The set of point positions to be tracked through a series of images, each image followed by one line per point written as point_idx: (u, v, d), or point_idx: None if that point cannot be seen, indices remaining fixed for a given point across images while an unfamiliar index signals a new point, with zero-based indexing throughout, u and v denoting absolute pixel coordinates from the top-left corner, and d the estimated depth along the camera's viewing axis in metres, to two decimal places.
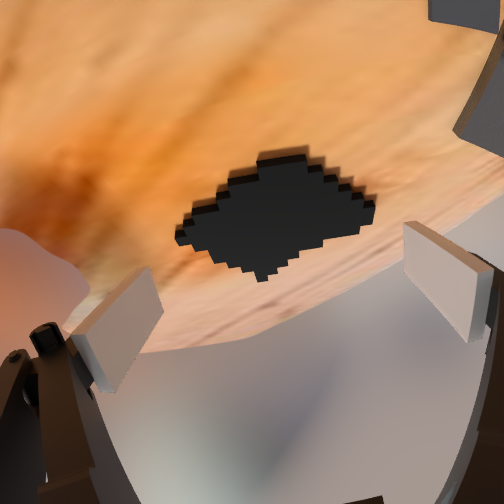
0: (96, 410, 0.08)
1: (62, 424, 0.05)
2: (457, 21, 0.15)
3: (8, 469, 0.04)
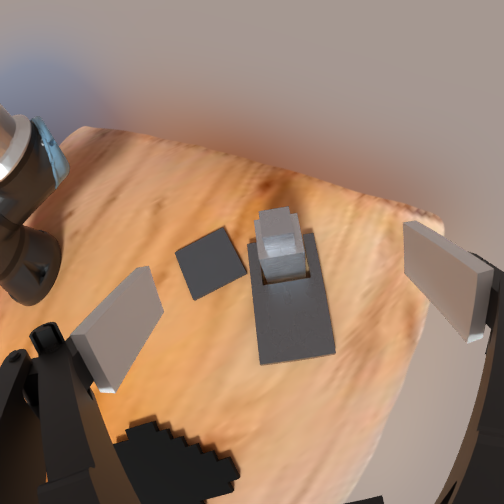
0: (96, 410, 0.08)
1: (62, 424, 0.05)
2: (209, 287, 0.41)
3: (8, 469, 0.04)
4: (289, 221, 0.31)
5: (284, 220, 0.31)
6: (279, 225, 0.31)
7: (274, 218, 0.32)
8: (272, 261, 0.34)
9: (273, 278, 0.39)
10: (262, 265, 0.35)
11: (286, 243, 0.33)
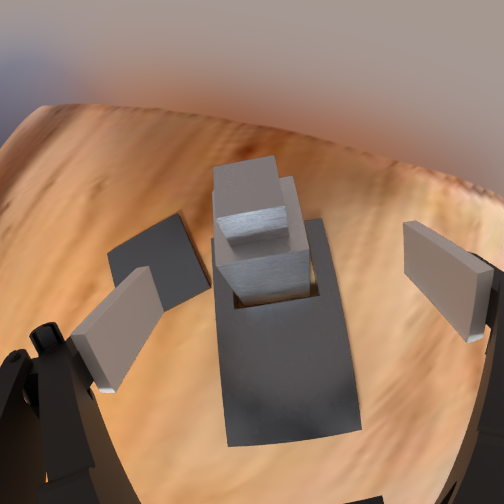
0: (96, 410, 0.08)
1: (62, 424, 0.05)
2: None
3: (8, 469, 0.04)
4: (275, 183, 0.14)
5: (265, 180, 0.14)
6: (254, 192, 0.14)
7: (244, 179, 0.15)
8: (243, 268, 0.17)
9: (252, 297, 0.22)
10: (226, 276, 0.18)
11: (271, 231, 0.16)
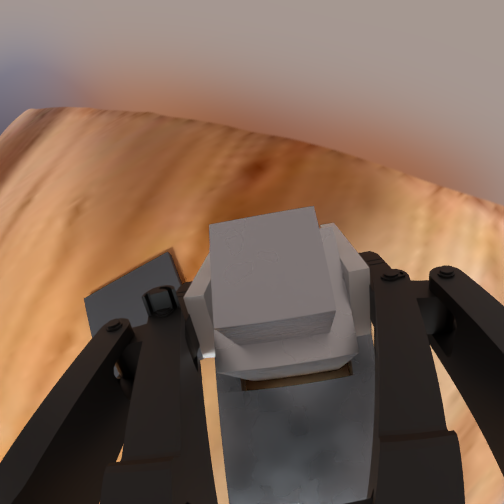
0: (198, 383, 0.09)
1: (156, 399, 0.06)
2: None
3: (72, 453, 0.05)
4: (319, 263, 0.08)
5: (300, 257, 0.08)
6: (282, 281, 0.08)
7: (263, 252, 0.09)
8: (258, 371, 0.11)
9: (265, 378, 0.16)
10: (232, 375, 0.12)
11: (303, 331, 0.09)
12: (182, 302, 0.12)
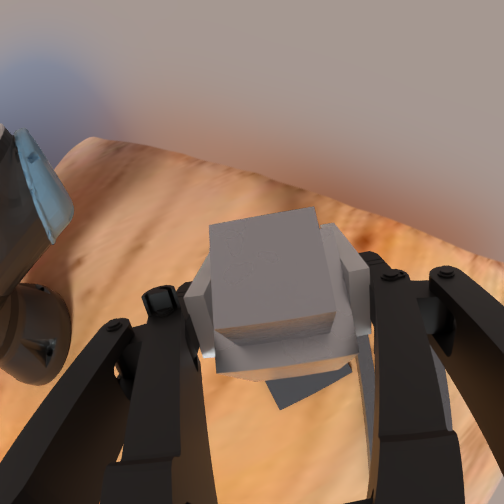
0: (198, 383, 0.09)
1: (156, 399, 0.06)
2: (303, 394, 0.27)
3: (72, 453, 0.05)
4: (319, 264, 0.08)
5: (301, 258, 0.08)
6: (282, 282, 0.08)
7: (263, 252, 0.09)
8: (258, 371, 0.11)
9: (265, 378, 0.16)
10: (232, 375, 0.12)
11: (304, 332, 0.09)
12: (182, 302, 0.12)
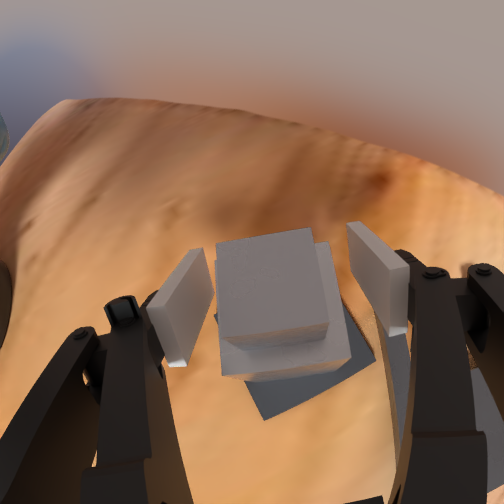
0: (164, 389, 0.09)
1: (124, 405, 0.06)
2: (300, 397, 0.17)
3: (50, 456, 0.05)
4: (314, 280, 0.09)
5: (298, 275, 0.09)
6: (282, 295, 0.09)
7: (265, 269, 0.10)
8: (259, 374, 0.12)
9: (266, 379, 0.17)
10: (236, 377, 0.13)
11: (301, 339, 0.10)
12: None
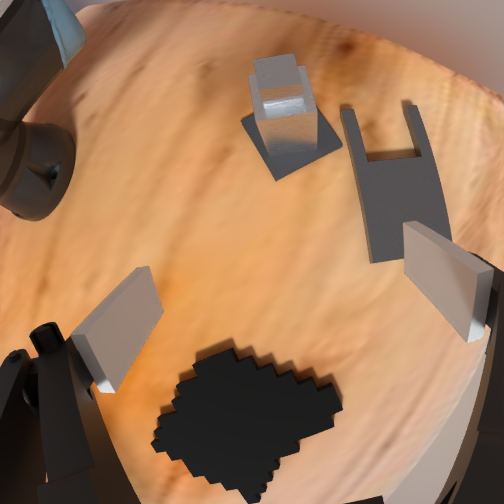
0: (96, 410, 0.08)
1: (62, 424, 0.05)
2: (296, 163, 0.30)
3: (8, 469, 0.04)
4: (295, 70, 0.20)
5: (289, 68, 0.20)
6: (282, 75, 0.20)
7: (275, 67, 0.20)
8: (273, 124, 0.24)
9: (275, 148, 0.29)
10: (261, 130, 0.25)
11: (292, 99, 0.22)
12: None
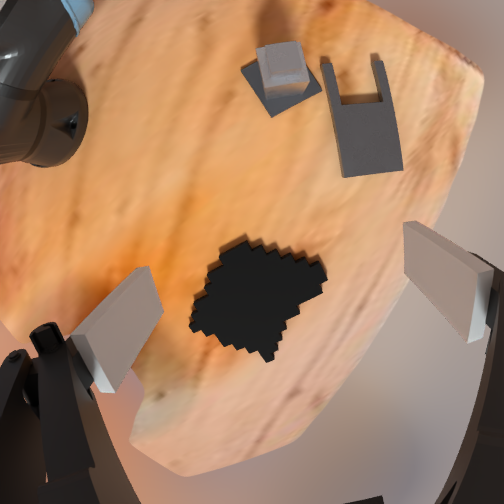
0: (96, 410, 0.08)
1: (62, 424, 0.05)
2: (287, 105, 0.37)
3: (8, 469, 0.04)
4: (297, 56, 0.26)
5: (292, 54, 0.26)
6: (288, 60, 0.26)
7: (282, 53, 0.26)
8: (276, 87, 0.31)
9: (272, 96, 0.36)
10: (266, 90, 0.31)
11: (292, 73, 0.28)
12: None
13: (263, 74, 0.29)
